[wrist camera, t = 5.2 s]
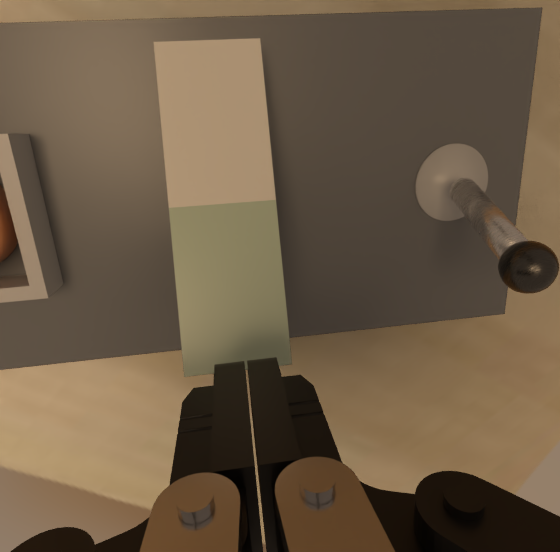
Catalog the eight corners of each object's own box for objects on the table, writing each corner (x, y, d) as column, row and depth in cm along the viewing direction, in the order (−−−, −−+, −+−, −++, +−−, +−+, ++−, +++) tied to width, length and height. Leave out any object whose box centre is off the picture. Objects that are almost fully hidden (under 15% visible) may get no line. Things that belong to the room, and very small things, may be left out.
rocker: (159, 59, 14) (153, 41, 13) (258, 55, 14) (260, 38, 13) (188, 370, 13) (184, 377, 12) (288, 358, 14) (291, 364, 13)
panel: (-177, 43, 14) (-299, 15, 11) (507, 21, 17) (577, -7, 14) (-66, 355, 18) (-132, 405, 15) (478, 297, 21) (528, 329, 18)
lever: (443, 167, 16) (528, 267, 12) (484, 164, 16) (581, 262, 12) (432, 203, 17) (507, 306, 13) (470, 200, 17) (555, 301, 13)
